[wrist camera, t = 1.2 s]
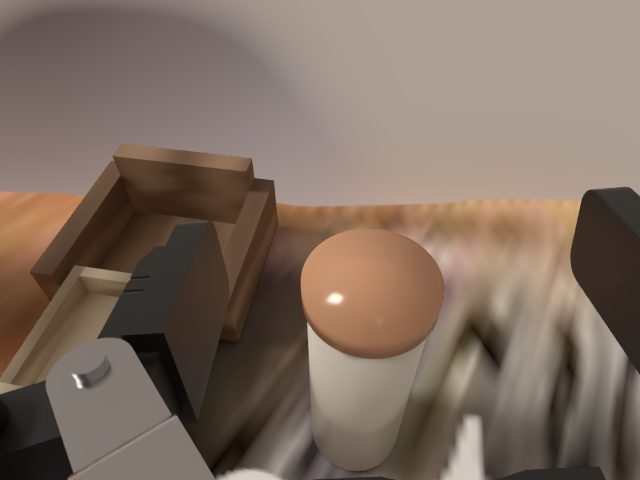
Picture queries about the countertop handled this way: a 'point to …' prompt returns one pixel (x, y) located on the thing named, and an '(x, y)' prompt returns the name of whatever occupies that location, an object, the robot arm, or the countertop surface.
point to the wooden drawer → (65, 324)
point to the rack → (168, 219)
